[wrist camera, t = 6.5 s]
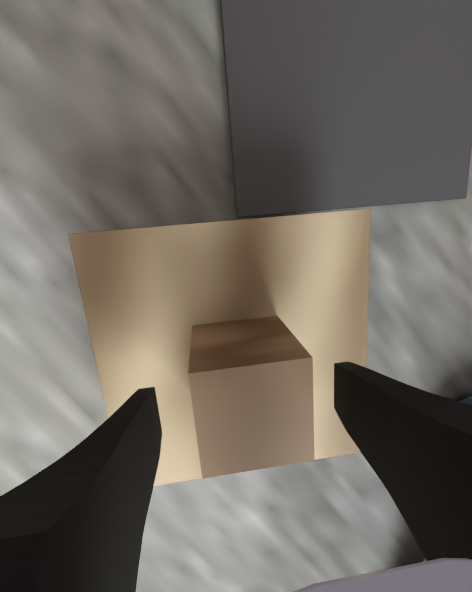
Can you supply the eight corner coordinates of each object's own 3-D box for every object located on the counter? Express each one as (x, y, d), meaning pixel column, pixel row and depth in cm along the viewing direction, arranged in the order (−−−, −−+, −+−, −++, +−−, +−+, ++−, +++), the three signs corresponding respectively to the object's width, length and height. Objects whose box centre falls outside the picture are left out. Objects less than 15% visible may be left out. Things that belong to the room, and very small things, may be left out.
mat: (488, -91, 15) (498, -102, 14) (459, 198, 18) (465, 198, 18) (213, -96, 14) (213, -108, 13) (237, 217, 17) (237, 216, 17)
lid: (364, 209, 14) (455, 201, 9) (358, 443, 17) (422, 533, 12) (74, 233, 13) (-8, 239, 8) (126, 481, 16) (93, 598, 11)
